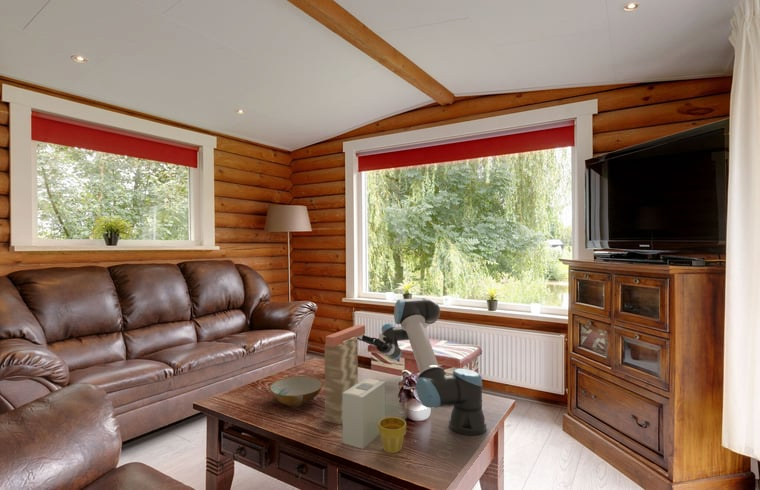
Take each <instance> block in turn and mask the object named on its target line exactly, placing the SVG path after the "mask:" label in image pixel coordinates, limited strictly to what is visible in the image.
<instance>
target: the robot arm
mask: <svg viewBox="0 0 760 490" xmlns="http://www.w3.org/2000/svg"><path fill="white" fill-rule="evenodd" d="M440 315H441V309H440V306H439V304H438V303H437V302H436V301H435V300H433V299H431V298H428V297H425V298H424V297H422V298H401V299H398V300H396V302H395V304H394V311H393V317H394V322H395V324H396V325H400V326H398V327H397V326H396V327H395V324H393V323H385V324H384V325H382V326H381V333H379V335H378V338H376V337H370V336H367V335H365V334H364V335H361V336H359V337H356V339H358V341H362V342H364V343H366V344H369V345H373V346H374V347H375V348H376V350H377V352H380V353H381V354H383V355H384V356H385V357H387V358H389V359H390V360H394V361H398V360H399V359H400V358H401V357H402V354H403V352H402V349H401V348H400V347H399V343H398V342H401V341H409V343H410V347H411V349H412V353H413V355H414V359H415V361H416V366H417V368H418V372H419V374H418V376H417V380H416V382H415V389H416V394H417V397H418V400H419V401H420V403H421V404H422V405H423V406H424V407H426V408H431V409H432V408H434V409H436V408H439V407H446V406H453V407H452V410H451V414H450V416H449V419H448V426H449V428H450V429H451V430H452V431H454V432H455V433H458V434H460V435H464V436H479V435H481V434H483V433H485V432H486V431H487V421H486V419H485V415H484V412H483V380H482V376H481V374H480V373H478V372H477V371H475V370H472V369H467V368H455V369H454V370H453V371H452V374H446V371H445V369H444V367H441V366H440V365H439V363H438V360H437V357H436V355H435V352H434V349H433V347H432V344H431V341H430V339H429V338H430V337H429V336H428V333H427V331H426V330H427V329H426V328H427V327H428V326H430V325H432V324H435V323H436V322H437V321H438V320H439V319H440Z"/></svg>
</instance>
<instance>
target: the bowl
mask: <svg viewBox="0 0 760 490" xmlns="http://www.w3.org/2000/svg"><path fill="white" fill-rule="evenodd" d="M323 383H324V382H323V381H322V380H321V379H319V378H315V377H312V376H300V375H299V376H291V377H285V378H281V379H278V380H276V381H274V382H273V383H271V385H269V387H268V388H269V391H270V393H271V395H272V396H273V398H275V400H276V401H278V402H279V403H281V404H283V405H286V406H288V407H302V406H304V405H306V404H308V403H310V402H311V401H313V400H314V399H315V398H316V397H318V395H319V393H320V391H321V390H322V388H323V386H324V384H323Z"/></svg>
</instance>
